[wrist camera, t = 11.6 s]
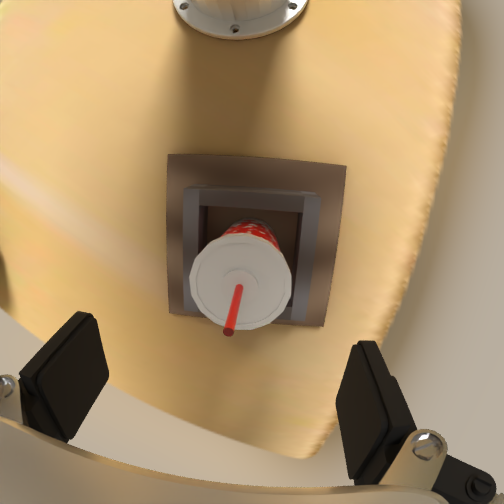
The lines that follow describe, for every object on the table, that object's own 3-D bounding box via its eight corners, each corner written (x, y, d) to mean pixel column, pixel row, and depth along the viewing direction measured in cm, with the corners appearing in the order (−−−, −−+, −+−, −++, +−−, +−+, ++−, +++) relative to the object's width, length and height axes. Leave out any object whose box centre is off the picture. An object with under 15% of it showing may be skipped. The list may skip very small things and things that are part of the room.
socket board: (171, 154, 26) (153, 154, 21) (343, 165, 25) (357, 167, 21) (172, 308, 30) (158, 331, 26) (322, 321, 30) (329, 347, 25)
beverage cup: (220, 202, 26) (165, 255, 12) (292, 215, 26) (312, 280, 12) (211, 270, 28) (161, 368, 14) (278, 282, 28) (281, 391, 14)
